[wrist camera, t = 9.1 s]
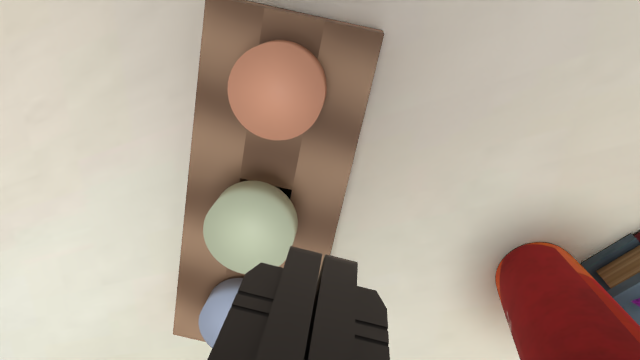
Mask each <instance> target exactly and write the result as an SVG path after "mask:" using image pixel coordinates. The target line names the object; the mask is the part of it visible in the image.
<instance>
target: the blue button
mask: <svg viewBox="0 0 640 360" xmlns="http://www.w3.org/2000/svg"><path fill="white" fill-rule="evenodd" d="M242 280H243V278H232V279H228V280H225V281H223V282H221V283H220V284H218V285H217V286H216V287H215V288H214V289H213V290H212V292H211V294H210V296H209V297H208V299H207V301H206V303H205V305H204V307H203V309H202V311H201V313H200V315H199V329H200V332H201V335H202V337H203V338H204V340H205V341H206V342H207V344H208V345H209V346H210V347H212V348H213V346H214V344H215V341H216V339H217V337H218V335H219V332H220V330H221V328H222V326H223V323H224V321H225V319H226V317H227V314H228V312H229V310H230V308H231V306H232V303H233V301H234V298H235V296H236V294H237V292H238V289H239V287H240V285H241V282H242Z"/></svg>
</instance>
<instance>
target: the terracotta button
mask: <svg viewBox="0 0 640 360" xmlns="http://www.w3.org/2000/svg"><path fill="white" fill-rule="evenodd" d="M227 90H228V99H229V103H230V106H231V109H232V111H233V113H234V115H235V116H236V118H237V119H238V121H239V122H240V123H241V124H242V125H243V126H244V127H245V128H246V129H247V130H249V131H250V132H251V133H253V134H255V135H257V136H259V137H261V138H265V139H269V140H288V139H292V138H294V137H297V136H299V135H301V134H303V133H304V132H305V131H307V130H308V129H309V128H310V127H311V126H312V125H313V124H314V122H315V121H316V119H317V118H318V116H319V114H320V111H321V109H322V107H323V104H324V102H325V98H326V92H327V83H326V77H325V73H324V70H323V68H322V66H321V64H320V62H319V61H318V59H317V58H316V57H315V56H314V55H313V54H312V53H311V52H310V51H309V50H308V49H307V48H305V47H303V46H302V45H300V44H297V43H295V42H292V41H287V40H273V41H268V42H265V43H263V44H260V45H258V46H256V47H253V48H251V49H250V50H248V51H246V52H245V53H244V54H243V55H242V56H241V57H240V58H239V59H238V60H237V61H236V63H235V64H234V66H233V68H232V70H231V73H230V76H229V80H228V89H227Z"/></svg>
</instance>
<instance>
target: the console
mask: <svg viewBox="0 0 640 360" xmlns="http://www.w3.org/2000/svg"><path fill="white" fill-rule="evenodd" d="M383 36H384V33H383V31H382V30H378V29H373V28H369V27H364V26H360V25H355V24H350V23H346V22H341V21H337V20H332V19H328V18H323V17H319V16H314V15H309V14H305V13H300V12H296V11H291V10H287V9H282V8H278V7H273V6H268V5H264V4H259V3H255V2H250V1H246V0H205V10H204V20H203V31H202V41H201V51H200V61H199V72H198V82H197V92H196V102H195V113H194V123H193V133H192V143H191V154H190V164H189V174H188V184H187V195H186V205H185V215H184V225H183V236H182V246H181V256H180V266H179V277H178V287H177V297H176V307H175V318H174V328H173V334H174V335H178V336H183V337H187V338H191V339H196V340H200V341H204V342H206V341H205V340H204V338H203V337H202V335H201V332H200V329H199V315H200V313H201V311H202V309H203V307H204V305H205V303H206V301H207V299H208V297H209V296H210V294H211V292H212V290H213V289H214V288H215V287H216V286H217V285H218V284H220V283H221V282H223V281H225V280H228V279H232V278H244V276H245V274H242V273H238V272H235V271H233V270H230V269H228V268H227V267H225V266H223V265H222V264H221V263H220V262H218V261H217V260H216V259H215V258H214V257H213V255H212V254H211V253H210V251H209V249H208V248H207V245H206V243H205V240H204V235H203V225H204V220H205V217H206V215H207V213H208V211H209V210H210V208H211V207H212V206H213V205H214V203H215V202H216V201H217V199H218V198H219V197H220V195H221V194H222V193H223V192H224V191H225V190H226V189H227V188H228V187H230V186H232V185H234V184H236V183H239V182H243V181H248V180H252V181H261V182H265V183H268V184H271V185H273V186H277V187H282V188H286V189H291V190H292V193H291V198H290V200H291V202H292V204H293V205H294V208H295V210H296V213H297V218H298V227H297V232H296V235H295V238H294V242H293V245H292V246H293V247H297V248H301V249H305V250H309V251H314V252H318V253H322V259H321V265H320V270H321V266H322V262H323V259H324V256H325V254H326V255H330V253H331V249H332V245H333V241H334V237H335V233H336V228H337V224H338V220H339V216H340V212H341V208H342V204H343V200H344V196H345V192H346V188H347V183H348V179H349V175H350V171H351V167H352V163H353V159H354V155H355V151H356V147H357V143H358V139H359V134H360V130H361V126H362V122H363V118H364V114H365V110H366V106H367V102H368V98H369V94H370V90H371V85H372V81H373V77H374V73H375V69H376V65H377V61H378V57H379V53H380V49H381V45H382V41H383ZM273 40H287V41H292V42H295V43H297V44H300V45H302V46H303V47H305V48H307V49H308V50H309V51H310V52H311V53H312V54H313V55H314V56H315V57H316V58H317V59H318V61H319V62H320V64H321V66H322V68H323V70H324V73H325V77H326V83H327V92H326V98H325V102H324V104H323V107H322V109H321V111H320V114H319V116H318V118H317V119H316V121H315V122H314V124H313V125H312V126H311V127H310V128H309V129H308V130H307V131H305V132H304V133H303V134H301V135H299V136H297V137H294V138H292V139H288V140H269V139H265V138H261V137H259V136H257V135H255V134H253V133H251V132H250V131H249V130H247V129H246V128H245V127H244V126H243V125H242V124H241V123H240V122H239V121H238V119H237V118H236V116H235V115H234V113H233V111H232V109H231V106H230V103H229V99H228V90H227V89H228V80H229V76H230V73H231V70H232V68H233V66H234V64H235V63H236V61H237V60H238V59H239V58H240V57H241V56H242V55H243V54H244V53H245V52H246V51H248V50H250V49H251V48H253V47H256V46H258V45H260V44H263V43H265V42H268V41H273ZM285 261H286V260H285ZM285 261H284V262H283V263H282V264H281V265H280V266H279V267H282V268H284V265H285ZM319 273H320V271H319ZM318 277H319V276H318Z"/></svg>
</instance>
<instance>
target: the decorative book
mask: <svg viewBox="0 0 640 360" xmlns="http://www.w3.org/2000/svg"><path fill="white" fill-rule="evenodd" d="M581 265H582V266H583V267H584V269H585V270H586V271H587V272H588V273H589V274H590V275H591V276H592V277H593V278H594V279H595V280H596V281H597V282H598V283H599V284H600V285H601V286H602V287H603V288H604V289H605V290H606V291H607V292H608V293H609V294H610V296H611V297H612V298H613V299H614V300H615V301H616V302H617V303H618V304H619V305H620V306H621V307H622V308H623V309H624V310H625V311H626V312H627V313H628V314H629V315H630V316H631V317H632V319H633V320H634V321H635V322H636V323H637V324H638V325H639V326H640V232H639V233H637V234H636V235H634V236H633V235H632V234H629V235H628V236H626V237H624V238H623V239H621V240H619V241H617V242H616V243H614V244H612V245H611V246H609V247H607V248H606V249H604V250H602V251H601V252H599V253H597V254H596V255H594V256H592V257H591V258H589V259H587V260H586V261H584V262H582V263H581Z"/></svg>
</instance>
